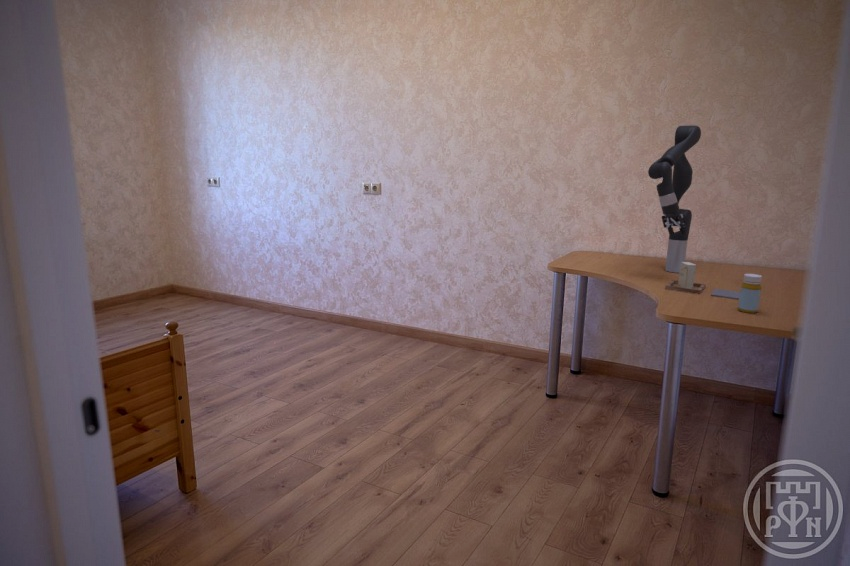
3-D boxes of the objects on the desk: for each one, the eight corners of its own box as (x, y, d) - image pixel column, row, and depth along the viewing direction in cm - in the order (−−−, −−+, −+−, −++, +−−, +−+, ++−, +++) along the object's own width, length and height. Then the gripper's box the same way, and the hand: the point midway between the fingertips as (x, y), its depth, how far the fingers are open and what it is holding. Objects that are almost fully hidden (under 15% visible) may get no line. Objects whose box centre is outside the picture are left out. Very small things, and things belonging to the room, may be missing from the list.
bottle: (755, 309, 231) (761, 274, 227) (759, 314, 225) (764, 277, 221) (736, 307, 233) (741, 272, 230) (739, 312, 227) (745, 276, 223)
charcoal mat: (715, 289, 262) (715, 288, 262) (744, 293, 256) (744, 292, 255) (710, 295, 252) (711, 294, 251) (741, 300, 245) (741, 298, 245)
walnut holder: (671, 282, 274) (672, 279, 274) (705, 287, 266) (705, 284, 266) (665, 289, 262) (665, 285, 262) (699, 294, 254) (700, 290, 254)
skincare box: (677, 286, 267) (680, 261, 264) (686, 286, 267) (689, 261, 264) (684, 290, 261) (687, 264, 258) (693, 290, 261) (696, 264, 258)
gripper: (685, 199, 264) (694, 232, 266) (666, 201, 278) (674, 232, 280) (671, 204, 263) (680, 237, 265) (653, 206, 277) (662, 237, 279)
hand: (677, 235), depth 273 cm, fingers open, 8 cm apart
